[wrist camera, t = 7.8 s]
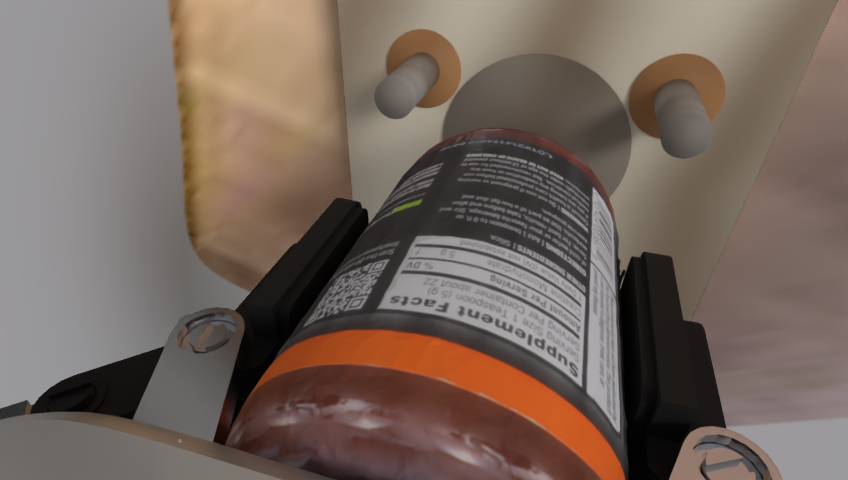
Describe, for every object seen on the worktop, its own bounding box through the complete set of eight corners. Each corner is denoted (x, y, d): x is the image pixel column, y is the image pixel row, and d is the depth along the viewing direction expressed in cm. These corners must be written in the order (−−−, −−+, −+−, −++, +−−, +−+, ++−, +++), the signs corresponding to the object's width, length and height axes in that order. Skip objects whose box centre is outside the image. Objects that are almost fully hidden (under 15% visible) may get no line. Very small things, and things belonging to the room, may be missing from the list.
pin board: (856, -86, 13) (942, -76, 9) (680, 315, 21) (693, 395, 18) (345, -102, 16) (276, -98, 13) (367, 251, 24) (329, 309, 21)
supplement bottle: (534, 334, 16) (439, 908, 7) (371, 238, 16) (55, 706, 7) (673, 200, 12) (852, 1071, 3) (462, 70, 12) (18, 628, 3)
